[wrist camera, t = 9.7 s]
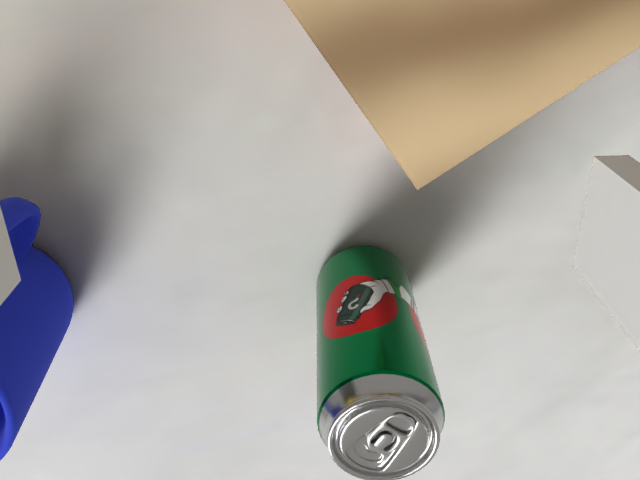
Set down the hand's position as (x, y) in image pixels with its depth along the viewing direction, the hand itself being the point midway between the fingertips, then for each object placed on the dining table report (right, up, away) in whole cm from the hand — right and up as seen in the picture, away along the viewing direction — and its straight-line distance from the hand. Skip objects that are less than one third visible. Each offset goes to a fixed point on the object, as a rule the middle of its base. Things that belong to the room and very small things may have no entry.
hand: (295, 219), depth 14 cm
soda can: (+3, -3, +20) cm, 21 cm away
